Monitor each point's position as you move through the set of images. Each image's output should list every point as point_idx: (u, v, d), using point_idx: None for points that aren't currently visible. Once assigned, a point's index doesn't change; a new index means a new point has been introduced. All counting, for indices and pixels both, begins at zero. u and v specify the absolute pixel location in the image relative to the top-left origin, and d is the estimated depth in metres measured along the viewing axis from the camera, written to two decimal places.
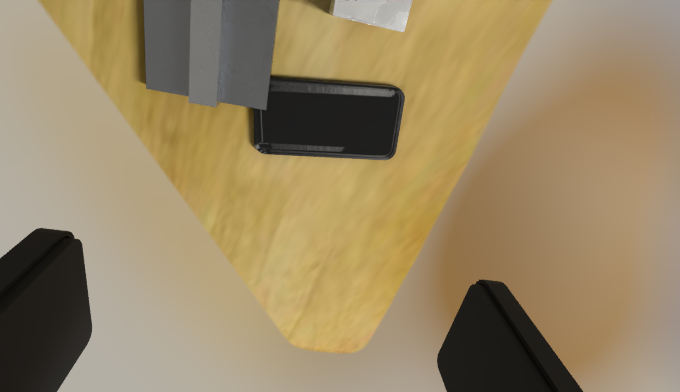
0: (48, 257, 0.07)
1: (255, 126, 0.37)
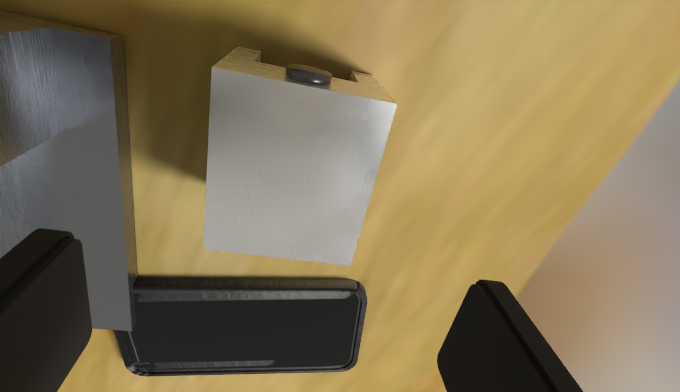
0: (48, 257, 0.07)
1: (121, 346, 0.22)
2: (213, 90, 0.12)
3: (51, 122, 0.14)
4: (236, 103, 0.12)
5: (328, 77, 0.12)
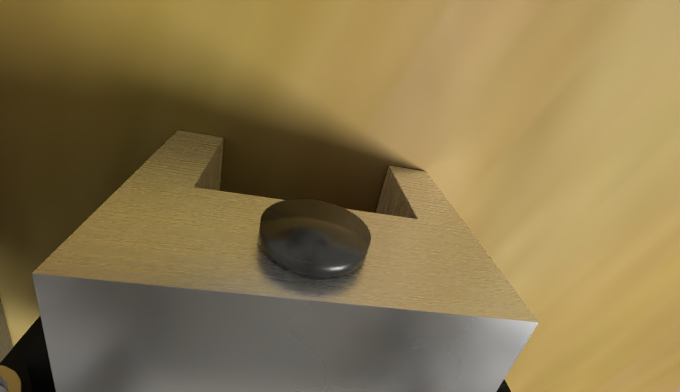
0: None
1: None
2: (51, 321, 0.04)
3: None
4: (121, 344, 0.04)
5: (363, 252, 0.05)
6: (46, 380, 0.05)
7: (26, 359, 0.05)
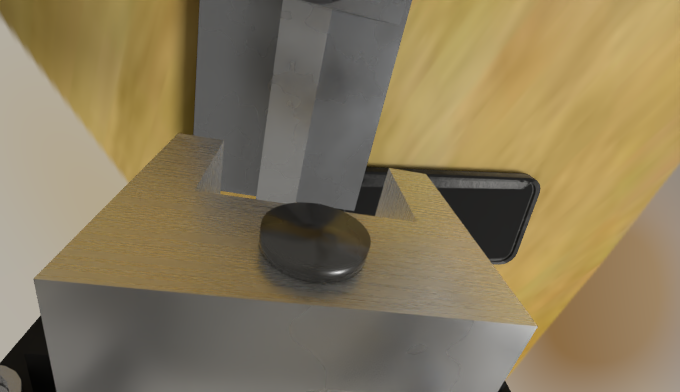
0: None
1: None
2: (52, 326, 0.04)
3: None
4: (121, 349, 0.04)
5: (362, 257, 0.05)
6: (46, 380, 0.05)
7: (26, 359, 0.05)
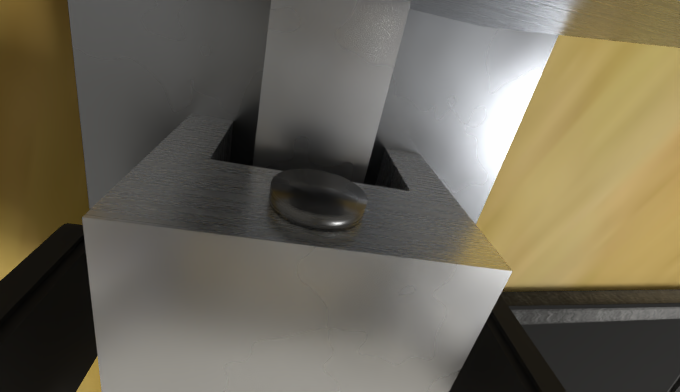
0: (77, 251, 0.07)
1: None
2: (94, 262, 0.05)
3: None
4: (152, 284, 0.05)
5: (360, 210, 0.06)
6: None
7: None
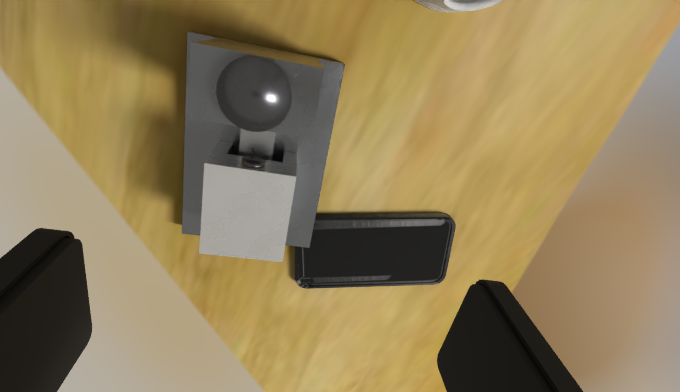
0: (48, 257, 0.07)
1: (296, 263, 0.34)
2: (205, 173, 0.24)
3: None
4: (216, 178, 0.24)
5: (262, 163, 0.25)
6: None
7: None
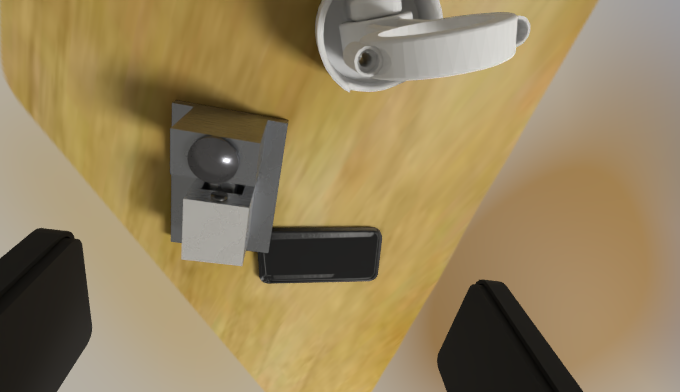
0: (48, 257, 0.07)
1: (259, 265, 0.45)
2: (183, 205, 0.34)
3: (262, 155, 0.37)
4: (191, 209, 0.34)
5: (225, 198, 0.35)
6: None
7: None
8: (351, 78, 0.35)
